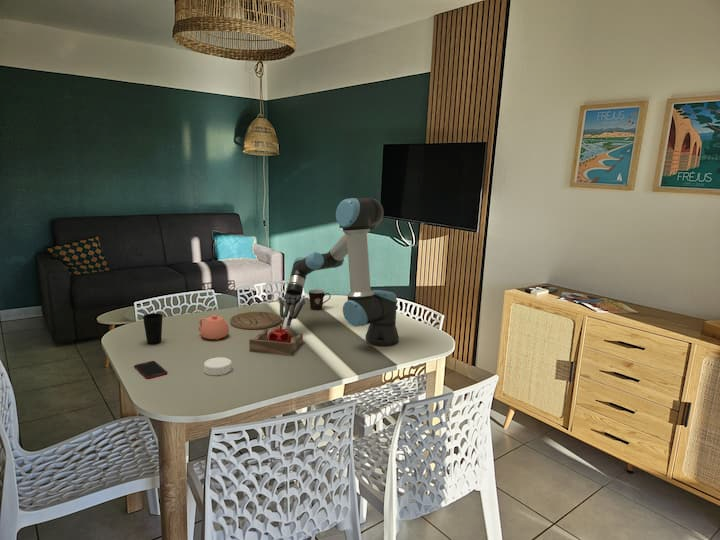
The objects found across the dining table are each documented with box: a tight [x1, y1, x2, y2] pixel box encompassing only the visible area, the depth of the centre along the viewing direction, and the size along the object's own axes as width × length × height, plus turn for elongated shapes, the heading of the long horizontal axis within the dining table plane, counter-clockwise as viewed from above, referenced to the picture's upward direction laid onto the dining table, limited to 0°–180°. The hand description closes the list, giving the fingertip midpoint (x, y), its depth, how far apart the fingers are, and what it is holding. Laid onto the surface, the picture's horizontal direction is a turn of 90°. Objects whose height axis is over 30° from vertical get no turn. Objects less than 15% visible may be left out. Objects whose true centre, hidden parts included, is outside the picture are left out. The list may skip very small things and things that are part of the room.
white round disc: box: [203, 356, 233, 376], centre depth 179 cm, size 10×10×4 cm
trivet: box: [229, 311, 282, 331], centre depth 237 cm, size 25×25×2 cm
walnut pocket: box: [248, 329, 304, 357], centre depth 205 cm, size 16×18×5 cm
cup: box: [142, 312, 163, 346], centre depth 204 cm, size 8×8×12 cm
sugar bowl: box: [197, 314, 230, 341], centre depth 214 cm, size 12×14×10 cm
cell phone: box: [133, 360, 169, 380], centre depth 177 cm, size 8×15×1 cm, turn 42°
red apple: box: [267, 324, 292, 343], centre depth 206 cm, size 10×10×9 cm
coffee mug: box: [308, 288, 332, 311], centre depth 263 cm, size 12×9×10 cm
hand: (284, 331), depth 214 cm, fingers closed
